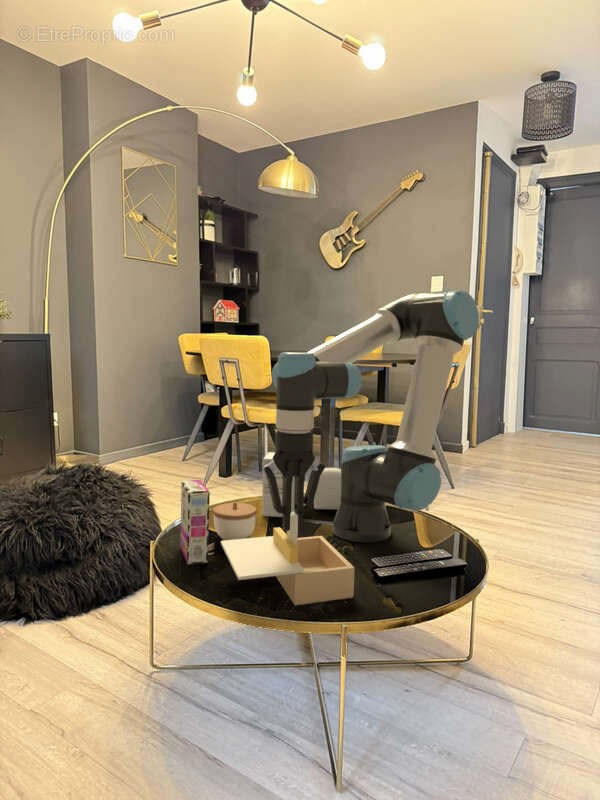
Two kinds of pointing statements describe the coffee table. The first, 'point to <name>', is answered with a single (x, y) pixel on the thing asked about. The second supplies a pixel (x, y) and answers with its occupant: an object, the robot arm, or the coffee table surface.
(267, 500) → the supplement box
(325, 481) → the photo printer
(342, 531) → the robot arm
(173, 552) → the coffee table surface
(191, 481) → the candy bar box
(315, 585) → the mailer box
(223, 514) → the lidded jar
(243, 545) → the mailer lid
